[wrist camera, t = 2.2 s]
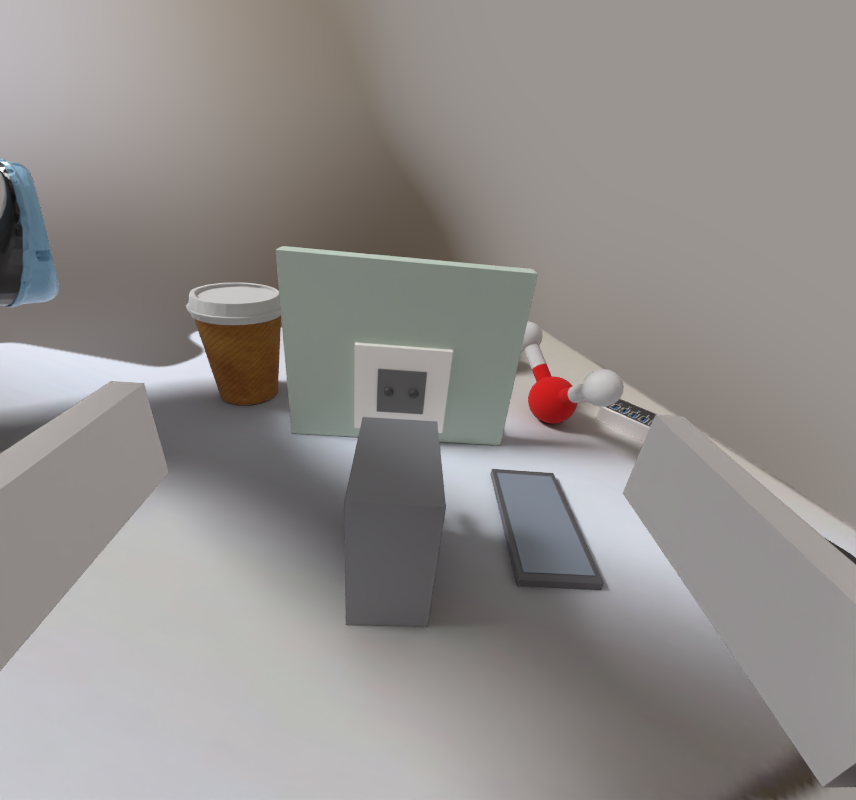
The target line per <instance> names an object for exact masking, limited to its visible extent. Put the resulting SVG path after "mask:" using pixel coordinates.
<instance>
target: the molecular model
mask: <svg viewBox="0 0 856 800" xmlns="http://www.w3.org/2000/svg"><path fill="white" fill-rule="evenodd" d="M541 341H542V331H541V329H540V327H539V326H538V325H536V324H535V323H532V322H527V326H526V331H525V336H524V340H523V345H522V349H521V350H522V351H525V353H526V355H527V358H528V361H529V363H530V366H531V368H532V371H533V373H534V376H535V379H536V381H537V382H536V383H535V384H534V386H533V387H532V388H531V390H530V393H529V397H528V403H529V407H530V410H531V412H532V413H533V414H534V416H535V417H537V418H538V419H539V420H541V421H543V422H546V423H559V422H562V421H565V420H566V419H568V418H569V417H570V416H571V415H572V414H573V413H574V411H575V409H576V406H577V403H579V402H584V401H589V402H590V403H591V404H593V405H595V406H599V407H606V406H610V405H612V404H614V403H616V402H617V401H618V400H619V399H620V397H621V396H622V393H623V382H622V380H621V378H620V377H619V376H618V375H617V374H616V373H615V372H613V371H611V370H607V369H600V370H596V371H593V372H592V373H590V374H589V375H588V376H587V377H586V378H585V380H584V382H583V384H580V385H576V386H572V385H571V384H570V383H569V382H568V381H566V380H565V379H563V378H560V377H552V376H551V374H550V372H549V369H548V367H547V364H546V362H545V359H544V357H543V354H542V352H541V349H540V347H539V345H540V343H541Z"/></svg>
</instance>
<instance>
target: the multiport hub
mask: <svg viewBox="0 0 856 800" xmlns="http://www.w3.org/2000/svg"><path fill="white" fill-rule="evenodd" d="M655 415H657V414H655V413H653V412H650V411H648V410H645V409H643V408H641V407H638V406H636V405H634V404H631V403H629V402H626V401H624V400H622V399H619V400H618V401H617V402H616V403H614V404H612V405H610V406H606V407H599V410H598V413H597V416H596V419H597V420H599V421H601V422H603V423H606V424H608V425H610V426H612V427H614V428H616V429H618V430H620V431H622V432H624V433H626V434H628V435H631V436H633V437H635V438H637V439H639V440H641V441H643V442H644V441H645V439H646V436H647V434H648V432H649V429H650V427H651V424H652V422H653V420H654V417H655ZM705 436H706V435H705Z"/></svg>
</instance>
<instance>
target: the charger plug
mask: <svg viewBox="0 0 856 800" xmlns="http://www.w3.org/2000/svg"><path fill="white" fill-rule="evenodd" d="M445 509H446V504H445V494H444V484H443V474H442V464H441V454H440V444H439V434H438V424H437V421H422V420H405V419H389V418H372V417H362V422H361V427H360V431H359V436H358V441H357V445H356V450H355V455H354V459H353V464H352V469H351V473H350V478H349V483H348V487H347V492H346V497H345V501H344V516H345V595H346V625H373V626H415V627H428V620H429V614H430V607H431V601H432V594H433V588H434V581H435V574H436V568H437V561H438V555H439V548H440V542H441V535H442V528H443V522H444V515H445Z"/></svg>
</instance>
